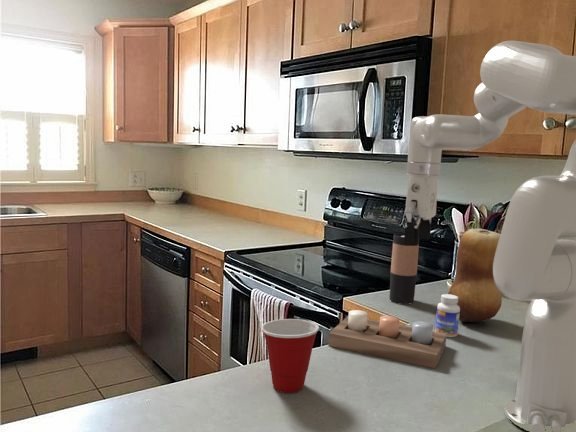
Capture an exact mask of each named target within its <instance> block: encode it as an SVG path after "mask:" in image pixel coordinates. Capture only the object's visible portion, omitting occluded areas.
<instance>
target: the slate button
mask: <svg viewBox="0 0 576 432" xmlns="http://www.w3.org/2000/svg"><path fill="white" fill-rule="evenodd" d="M411 327H412V338H411V341H412V342H414V343H420V344H425V345H431V343H432V331H434V325H433V324H432V323H430V322H427V321H414V322H412V326H411Z"/></svg>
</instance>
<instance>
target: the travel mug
mask: <svg viewBox="0 0 576 432" xmlns="http://www.w3.org/2000/svg"><path fill="white" fill-rule="evenodd" d="M404 235H405V232H398V233H397V232H395V233H394V234H393V240H392V251H391V263H390V264H391V265H390V279H389V280H390V281H389V282H390V283H389V301H390V300H391V301H390V302H391V303H394V302H395V303H394V304H398V303H401V304H400V305H410V304H409V303H412V304H413V303H414V302H415V301H414V299H415V294H416V285H417V283H416V282H417V275H418V264H419V263H418V262H419V248H420V239H419V240H418V245H417V246H413V245H406V244H404Z"/></svg>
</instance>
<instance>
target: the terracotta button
mask: <svg viewBox="0 0 576 432" xmlns="http://www.w3.org/2000/svg"><path fill="white" fill-rule="evenodd" d="M379 321H380V324H379V336H384V337H389V338H394V339H396V338H398V332H399V325H400V318H399V317H396V316H393V315H381V316H380V317H379Z"/></svg>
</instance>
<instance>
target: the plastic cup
mask: <svg viewBox="0 0 576 432" xmlns="http://www.w3.org/2000/svg"><path fill="white" fill-rule="evenodd" d="M260 327H261V332H262V333H263V335H264V339H265V344H266V345H267V348H266V349H267V354H268V361H269V370H270V373H271V374H270V375H271V382H272V387H273V388H274V390H276V391H278V392H280V393H284V394H294V393H298V392H301V390H303V388H304V386H305V381H306V377H307V374H308V369H309V365H310V361H311V357H312V356H311V355H312V352H313V346H314V344H315V339H316V337H317V336H316V335H317V334H318V333H317V332H318V331H320V327H319V325H318V323H315V322H313V321H311V320H307V319H298V318H297V319H296V318H284V319H283V318H282V319H273V320H271V321H267V322H264V323H263V324H262V325H261V326H260Z"/></svg>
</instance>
